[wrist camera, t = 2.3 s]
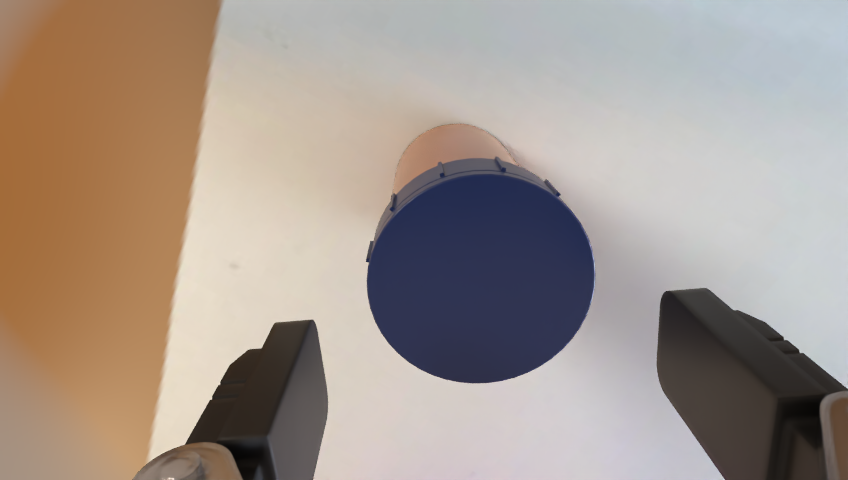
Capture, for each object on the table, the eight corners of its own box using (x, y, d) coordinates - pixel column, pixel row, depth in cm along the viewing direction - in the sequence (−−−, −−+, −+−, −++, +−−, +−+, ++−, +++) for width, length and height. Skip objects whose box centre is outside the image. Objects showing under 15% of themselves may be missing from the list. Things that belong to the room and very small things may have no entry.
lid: (425, 121, 14) (426, 133, 13) (614, 210, 15) (640, 233, 14) (341, 302, 16) (331, 336, 14) (515, 373, 17) (527, 413, 15)
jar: (426, 102, 22) (432, 147, 13) (537, 155, 23) (615, 232, 14) (375, 212, 24) (350, 321, 15) (481, 259, 25) (519, 389, 16)
